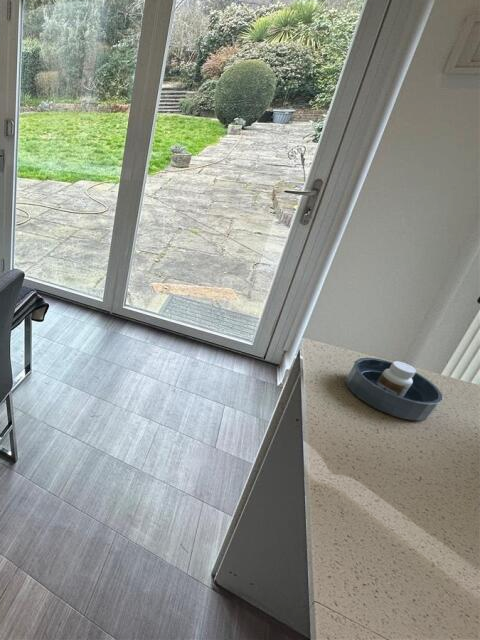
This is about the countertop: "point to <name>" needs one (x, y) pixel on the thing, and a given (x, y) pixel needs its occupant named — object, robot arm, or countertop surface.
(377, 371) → the bowl
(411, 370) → the pill bottle
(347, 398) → the countertop surface
